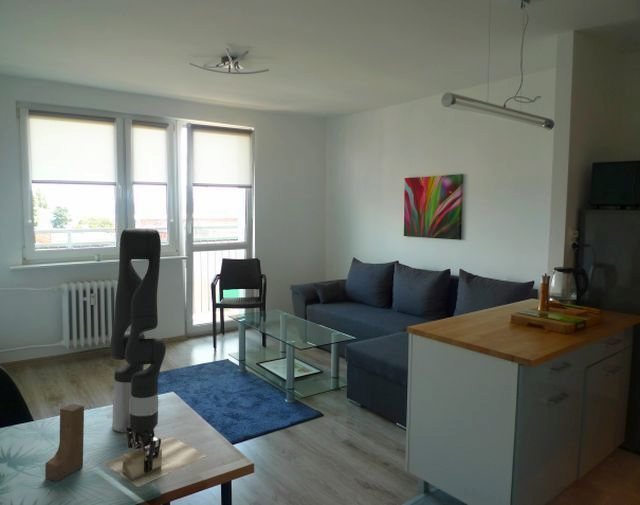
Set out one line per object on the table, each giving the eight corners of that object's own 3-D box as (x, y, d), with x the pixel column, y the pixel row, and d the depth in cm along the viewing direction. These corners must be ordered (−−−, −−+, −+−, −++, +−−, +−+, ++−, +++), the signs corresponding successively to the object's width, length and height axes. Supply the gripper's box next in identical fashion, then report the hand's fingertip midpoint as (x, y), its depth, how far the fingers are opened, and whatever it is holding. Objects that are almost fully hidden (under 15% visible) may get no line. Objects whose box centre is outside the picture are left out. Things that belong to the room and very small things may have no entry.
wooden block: (57, 482, 127) (58, 417, 126) (44, 478, 128) (45, 414, 127) (83, 466, 136) (84, 405, 134) (71, 463, 137) (72, 403, 136)
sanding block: (122, 473, 130) (122, 454, 130) (151, 461, 137) (152, 443, 137) (132, 480, 127) (132, 460, 127) (161, 467, 134) (162, 448, 134)
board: (103, 467, 136) (103, 463, 136) (171, 440, 154) (171, 436, 154) (137, 491, 125) (137, 486, 125) (206, 459, 143) (207, 455, 143)
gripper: (117, 405, 133) (116, 464, 134) (146, 421, 124) (144, 483, 125) (141, 398, 139) (140, 454, 140) (170, 412, 130) (169, 472, 131)
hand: (142, 467), depth 132 cm, fingers closed on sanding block, 5 cm apart
